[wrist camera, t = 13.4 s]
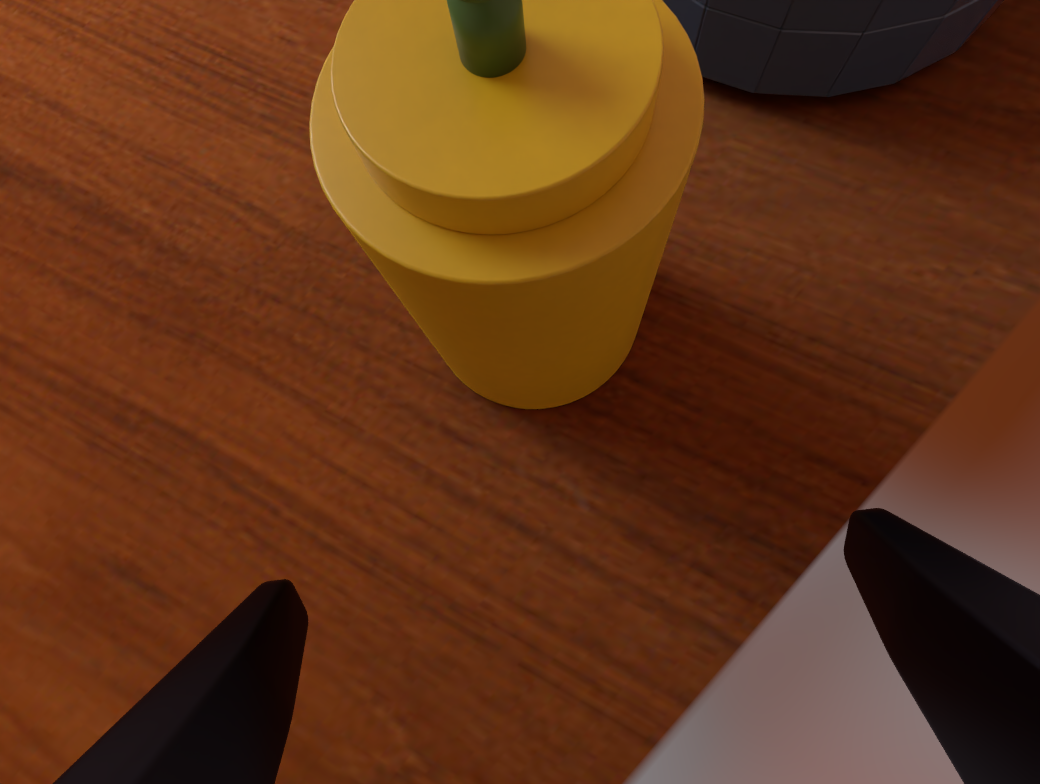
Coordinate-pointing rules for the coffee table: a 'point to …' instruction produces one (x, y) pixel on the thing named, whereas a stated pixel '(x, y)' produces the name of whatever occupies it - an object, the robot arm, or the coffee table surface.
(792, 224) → the coffee table surface
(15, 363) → the coffee table surface
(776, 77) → the bowl
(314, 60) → the coffee table surface
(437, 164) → the pepper
